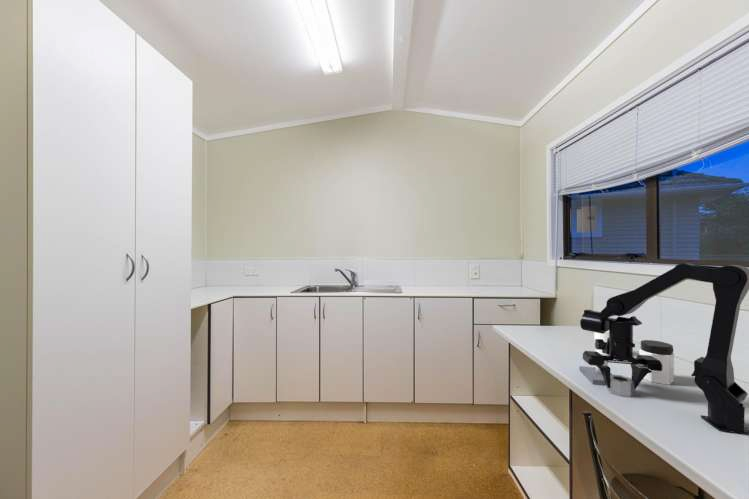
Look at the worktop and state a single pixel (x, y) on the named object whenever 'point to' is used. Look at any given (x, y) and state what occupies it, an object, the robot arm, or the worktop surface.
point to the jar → (664, 355)
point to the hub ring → (622, 385)
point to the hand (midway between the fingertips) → (620, 388)
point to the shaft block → (593, 375)
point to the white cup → (601, 336)
